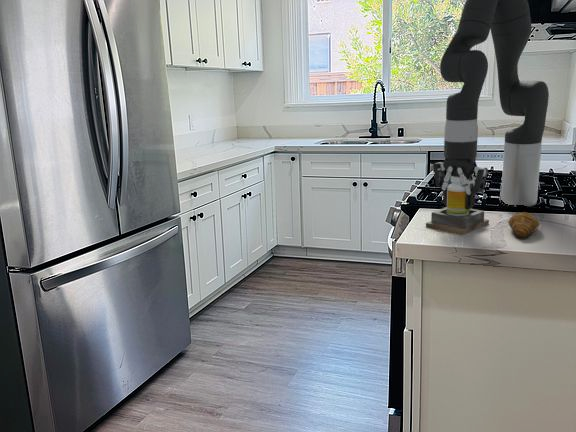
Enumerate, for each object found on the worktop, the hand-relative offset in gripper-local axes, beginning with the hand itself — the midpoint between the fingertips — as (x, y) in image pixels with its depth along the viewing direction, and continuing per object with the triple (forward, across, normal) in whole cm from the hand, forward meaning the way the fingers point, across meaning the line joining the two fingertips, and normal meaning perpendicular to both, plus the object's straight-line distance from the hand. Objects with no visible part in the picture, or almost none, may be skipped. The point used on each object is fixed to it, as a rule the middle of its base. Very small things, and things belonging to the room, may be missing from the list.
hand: (458, 206), depth 128 cm
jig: (+5, 0, 0) cm, 5 cm away
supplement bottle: (+2, 0, 0) cm, 2 cm away
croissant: (+5, -14, -6) cm, 16 cm away
